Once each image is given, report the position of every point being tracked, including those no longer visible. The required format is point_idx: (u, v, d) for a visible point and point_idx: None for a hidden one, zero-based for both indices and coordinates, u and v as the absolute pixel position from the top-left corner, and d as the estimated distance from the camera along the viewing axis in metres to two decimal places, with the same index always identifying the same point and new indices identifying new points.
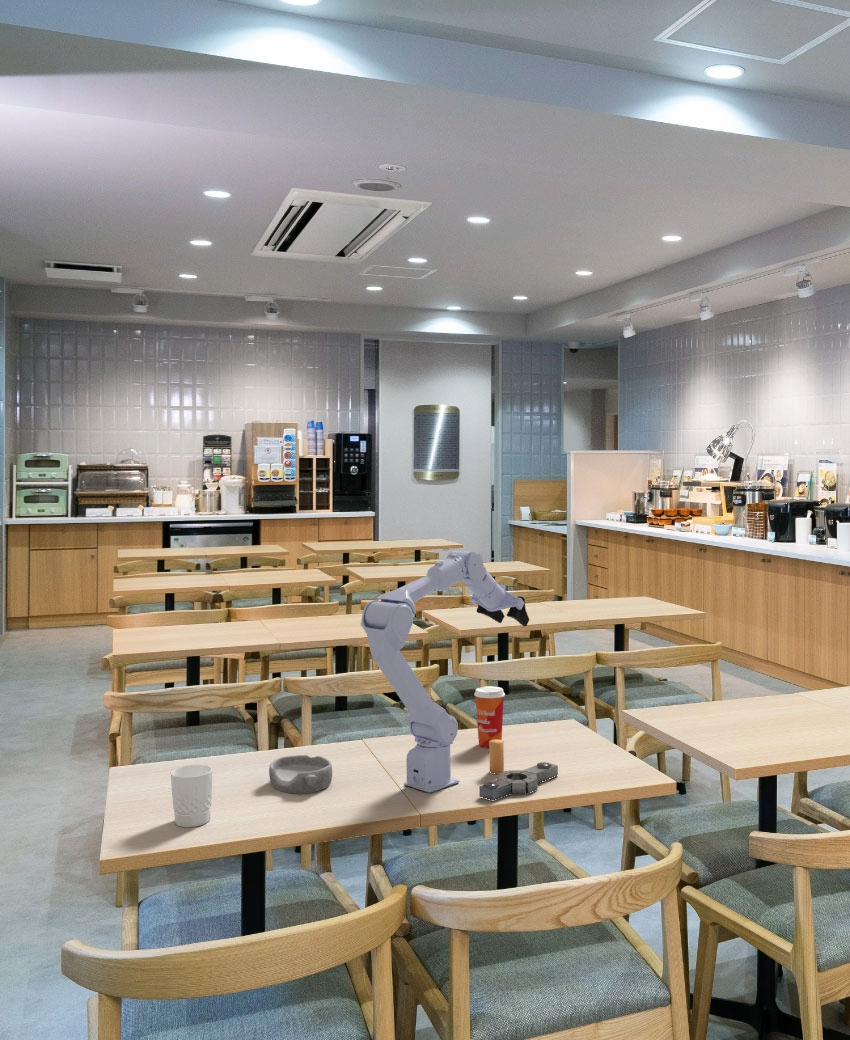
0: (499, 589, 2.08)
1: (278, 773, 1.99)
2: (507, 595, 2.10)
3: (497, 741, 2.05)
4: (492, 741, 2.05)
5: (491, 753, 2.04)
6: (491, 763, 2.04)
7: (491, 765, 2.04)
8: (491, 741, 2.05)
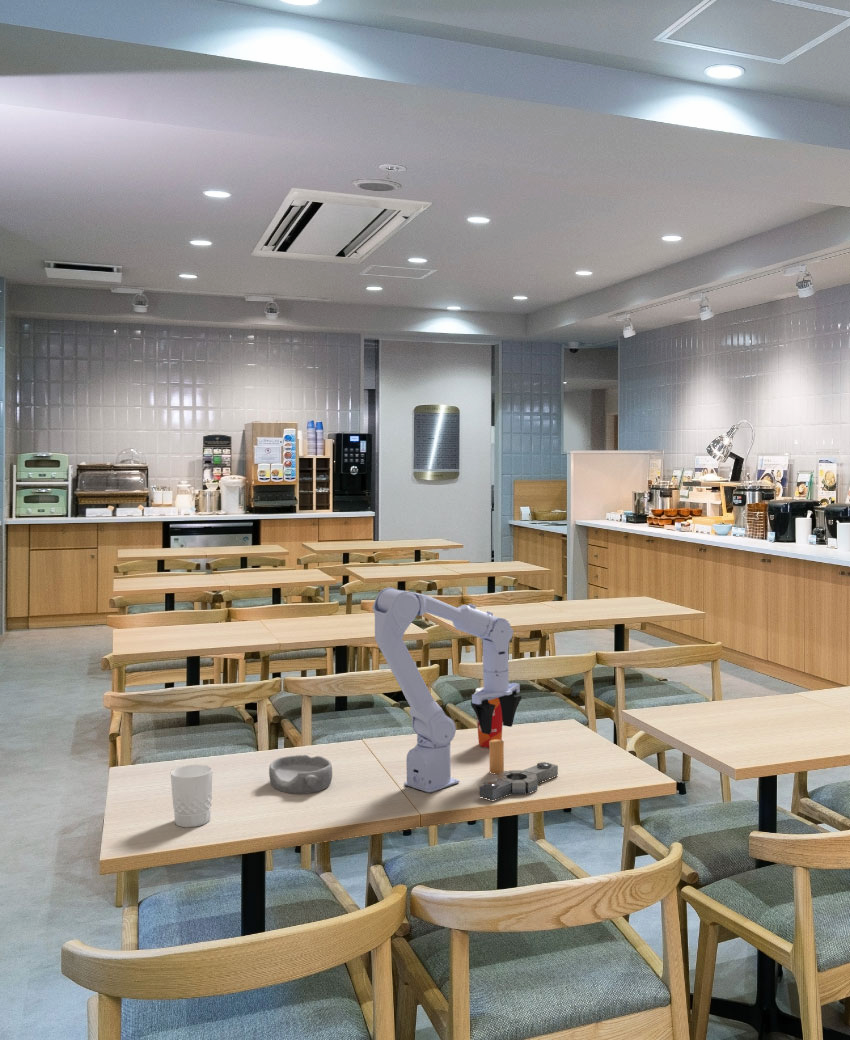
0: (492, 680, 2.02)
1: (278, 773, 1.99)
2: None
3: (497, 741, 2.05)
4: (492, 741, 2.05)
5: (491, 753, 2.04)
6: (491, 763, 2.04)
7: (491, 765, 2.04)
8: (491, 741, 2.05)
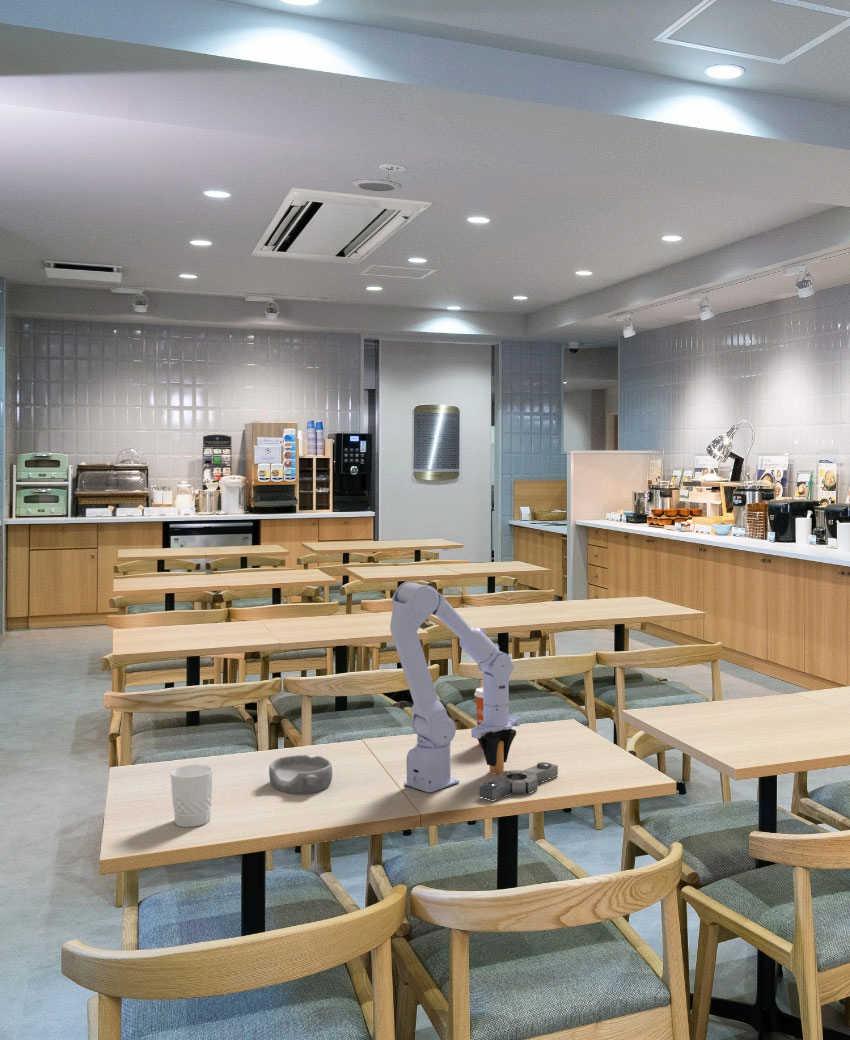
0: (491, 714, 2.02)
1: (278, 773, 1.99)
2: None
3: None
4: None
5: None
6: None
7: None
8: None
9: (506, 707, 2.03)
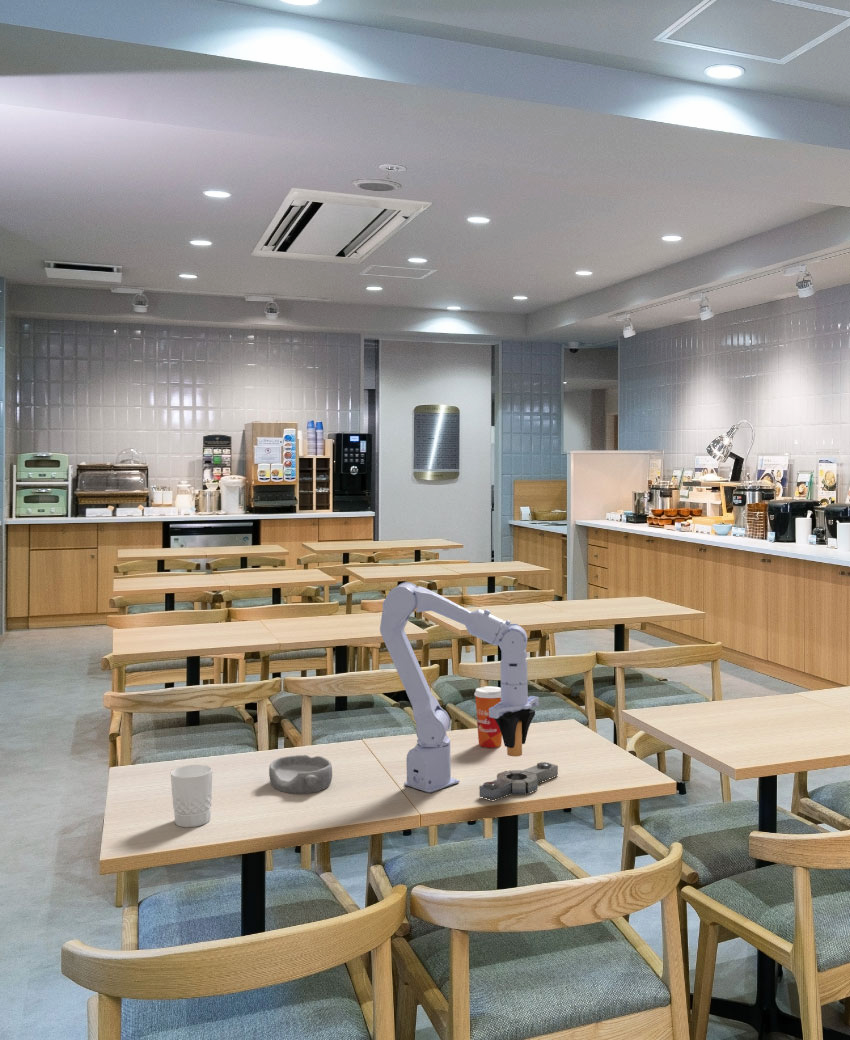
0: (510, 693, 1.92)
1: (278, 773, 1.99)
2: None
3: None
4: None
5: None
6: None
7: (508, 747, 1.95)
8: None
9: (525, 686, 1.93)
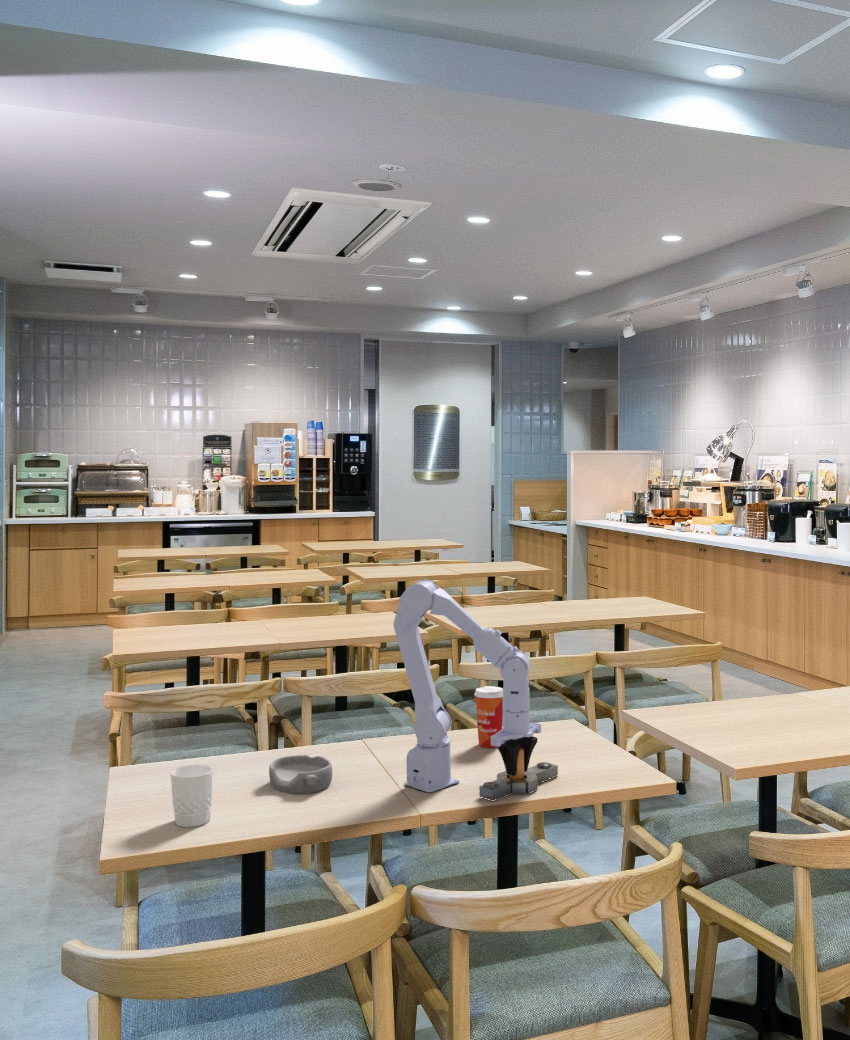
0: (512, 720, 1.91)
1: (278, 773, 1.99)
2: None
3: None
4: None
5: None
6: None
7: None
8: None
9: (527, 713, 1.92)
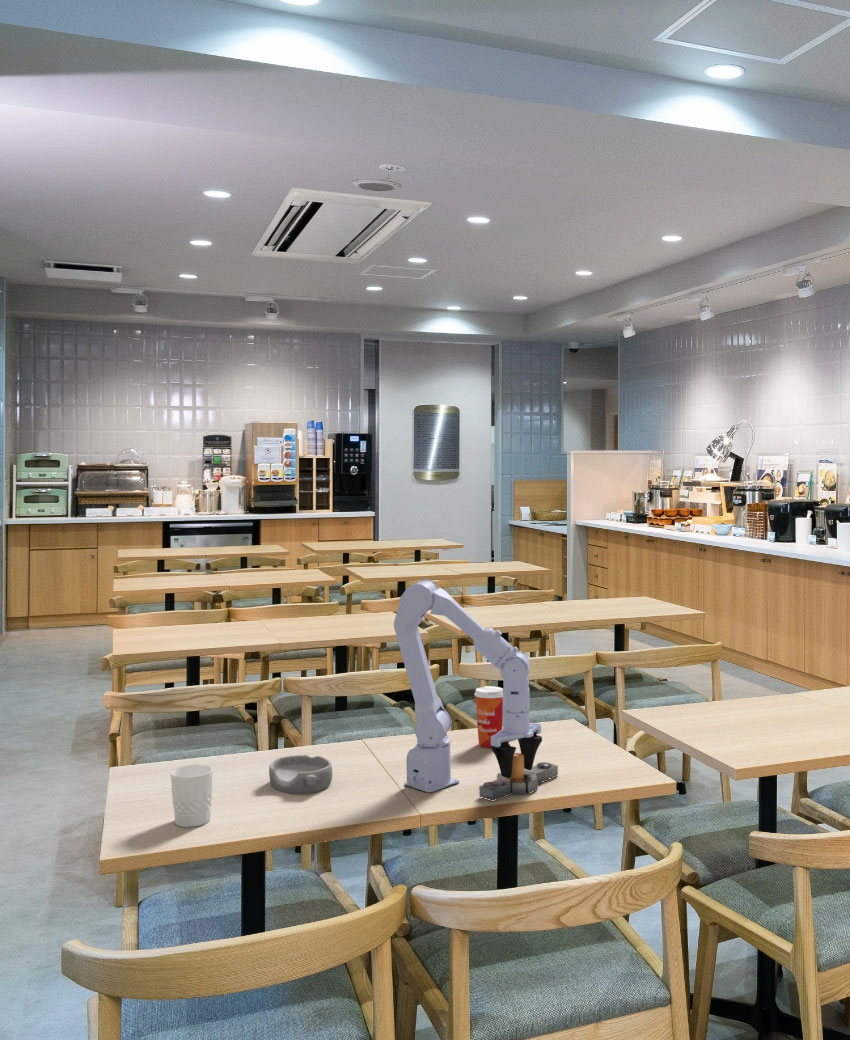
0: (512, 721, 1.91)
1: (278, 773, 1.99)
2: None
3: (517, 755, 1.94)
4: None
5: None
6: (510, 778, 1.94)
7: None
8: None
9: (527, 714, 1.92)
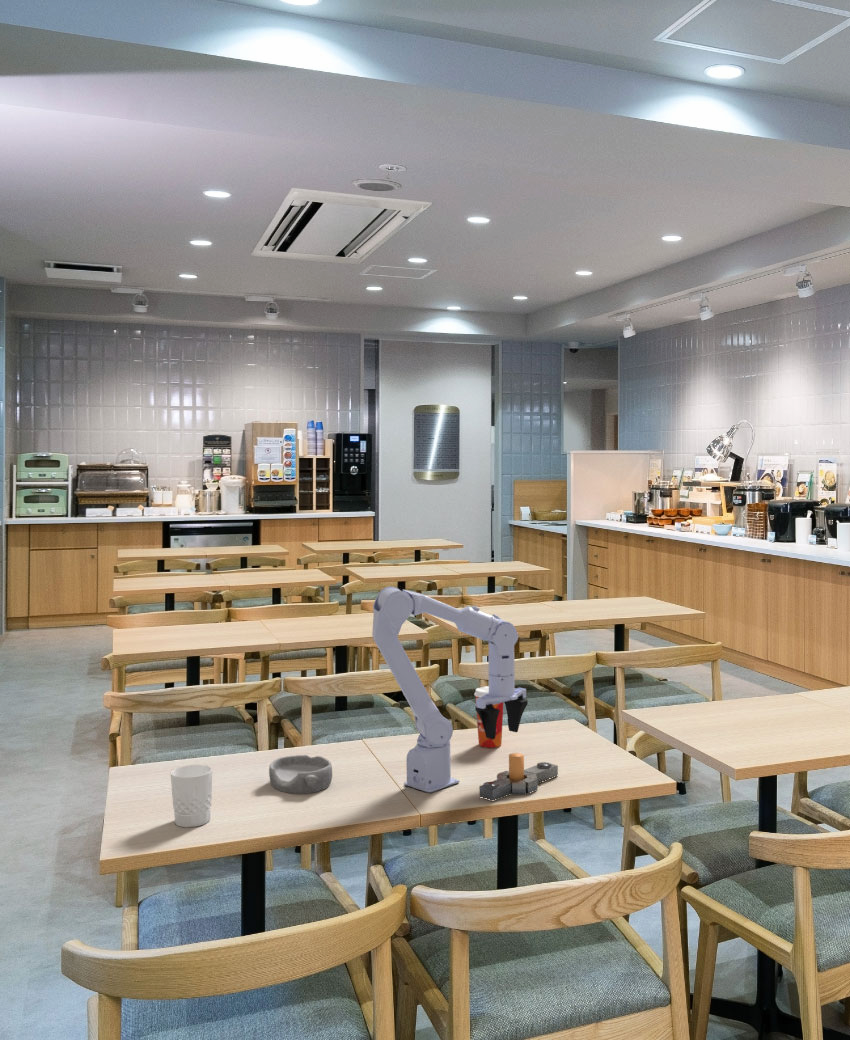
0: (497, 684, 1.99)
1: (278, 773, 1.99)
2: None
3: (517, 755, 1.94)
4: (512, 755, 1.95)
5: (510, 767, 1.94)
6: (510, 778, 1.94)
7: None
8: (511, 755, 1.95)
9: (512, 677, 1.99)
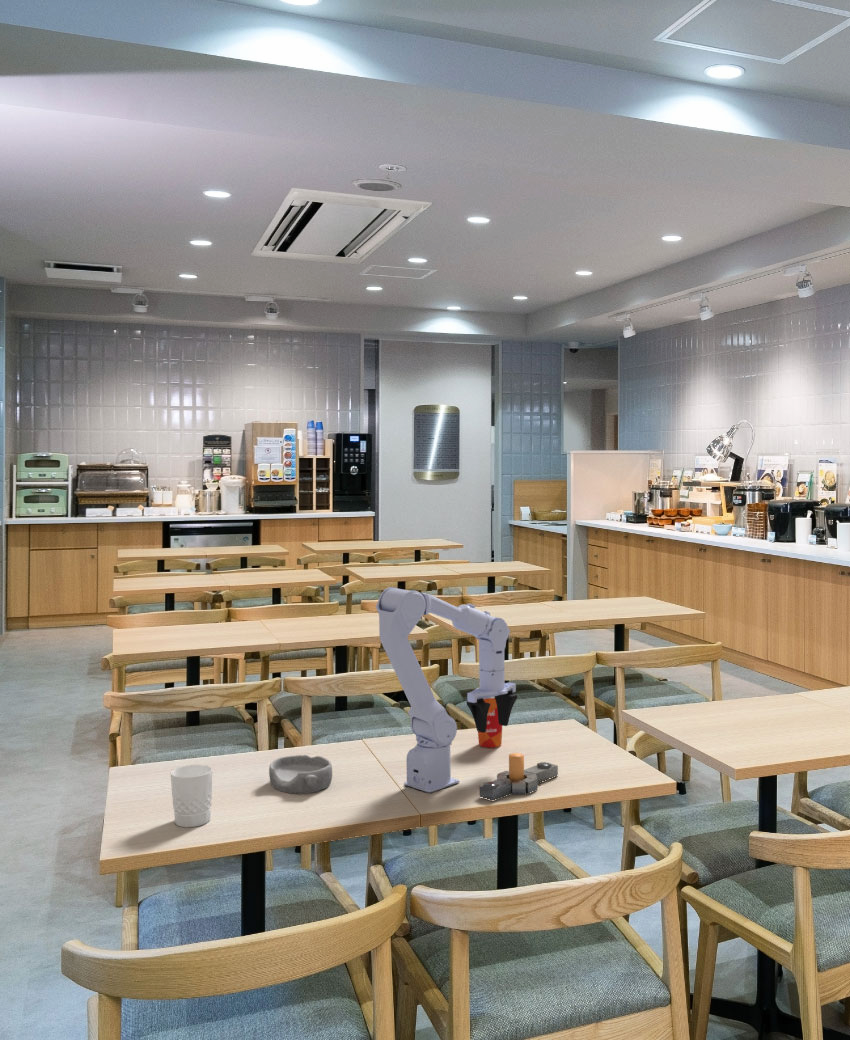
0: (487, 679, 2.04)
1: (278, 773, 1.99)
2: None
3: (517, 755, 1.94)
4: (512, 755, 1.95)
5: (510, 767, 1.94)
6: (510, 778, 1.94)
7: None
8: (511, 755, 1.95)
9: (502, 672, 2.05)
